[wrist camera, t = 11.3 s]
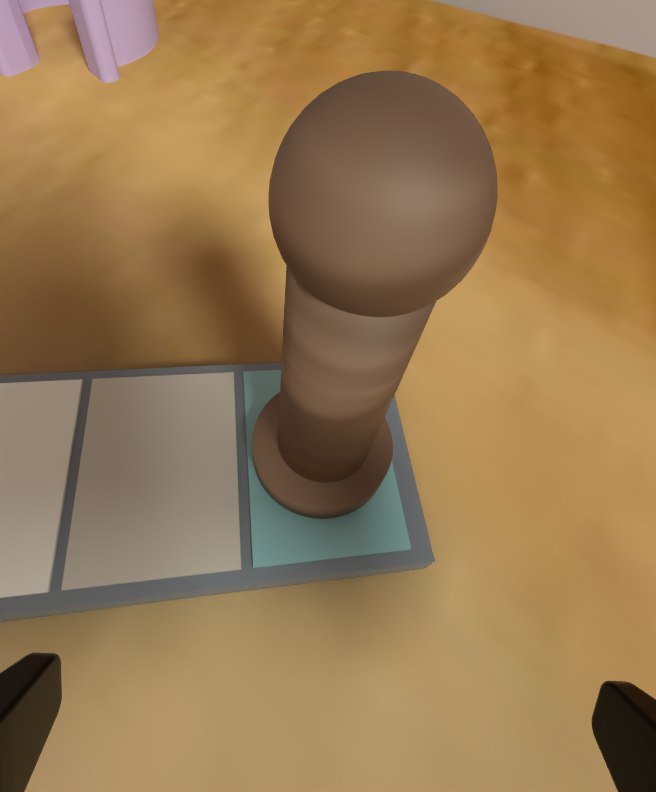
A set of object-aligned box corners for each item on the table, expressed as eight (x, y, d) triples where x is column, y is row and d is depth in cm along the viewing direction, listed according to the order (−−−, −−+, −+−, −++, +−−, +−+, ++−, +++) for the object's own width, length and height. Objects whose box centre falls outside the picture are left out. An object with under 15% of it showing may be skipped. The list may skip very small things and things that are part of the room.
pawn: (333, 548, 16) (481, 250, 5) (224, 459, 17) (155, 66, 6) (410, 446, 19) (621, 99, 8) (310, 375, 20) (367, -11, 9)
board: (379, 372, 22) (385, 355, 21) (425, 568, 18) (436, 560, 16) (-73, 395, 19) (-95, 377, 18) (-161, 641, 14) (-199, 638, 13)
